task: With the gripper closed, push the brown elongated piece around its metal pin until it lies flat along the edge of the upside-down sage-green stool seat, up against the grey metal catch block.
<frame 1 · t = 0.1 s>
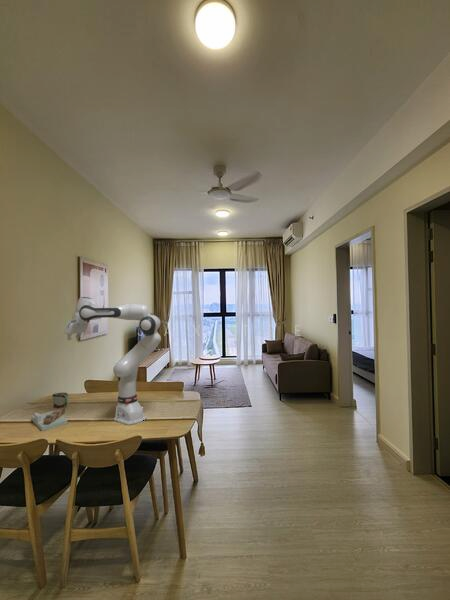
hand: (73, 339, 194), 52 cm above the table, tool tilted 20°, fingers open, 8 cm apart
food container: (62, 407, 210), on the table
brown elongated piece: (54, 414, 183), point 5 cm above the table, hinge at -45.0°
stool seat: (49, 422, 184), on the table
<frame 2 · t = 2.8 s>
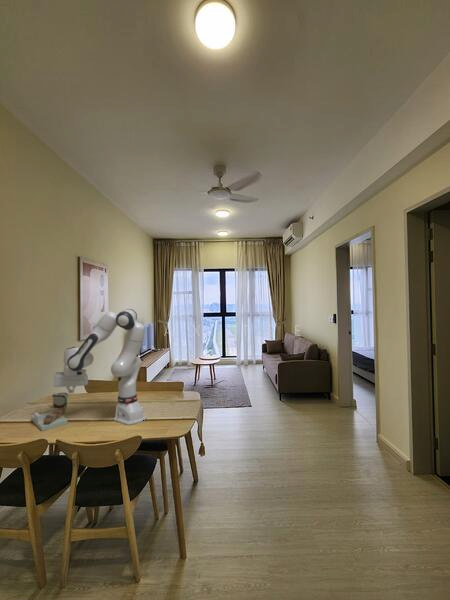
hand: (71, 392, 189), 17 cm above the table, tool pointing down, fingers closed
nothing on the table moved.
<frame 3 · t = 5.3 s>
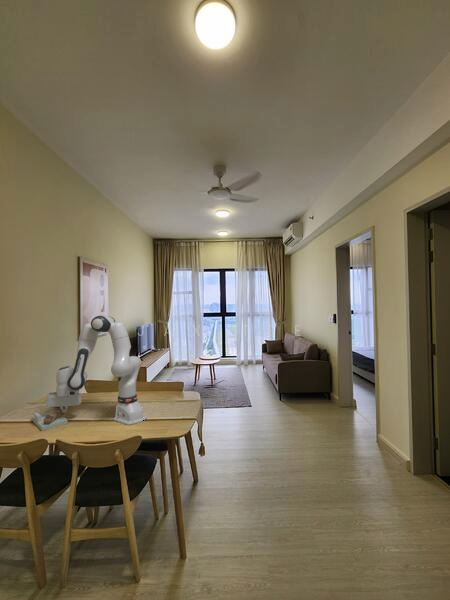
hand: (64, 412, 188), 4 cm above the table, tool pointing down, fingers closed
brown elongated piece: (54, 414, 183), point 5 cm above the table, hinge at -44.5°, touching gripper
everything else where it was.
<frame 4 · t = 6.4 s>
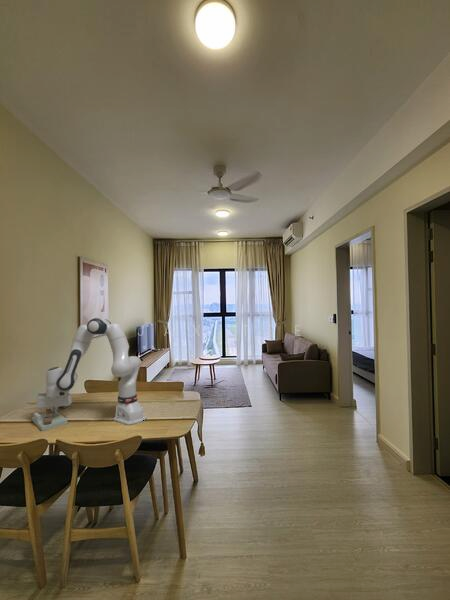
hand: (54, 413, 187), 4 cm above the table, tool pointing down, fingers closed
brown elongated piece: (48, 415, 182), point 5 cm above the table, hinge at -16.9°, touching gripper
everything else where it was.
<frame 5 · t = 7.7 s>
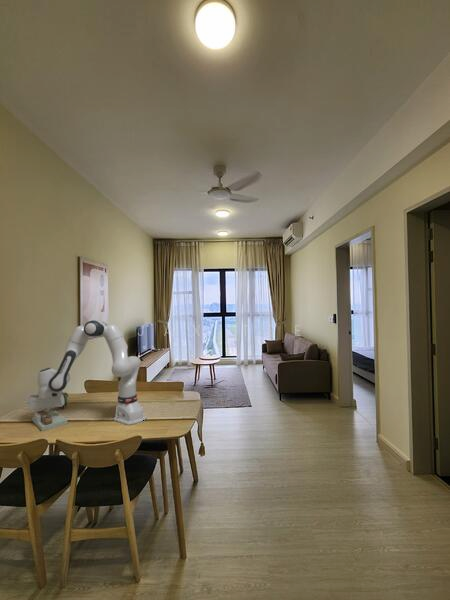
hand: (47, 414, 186), 4 cm above the table, tool pointing down, fingers closed, pressing on brown elongated piece
brown elongated piece: (44, 416, 180), point 5 cm above the table, hinge at 0.9°, touching gripper
everything else where it was.
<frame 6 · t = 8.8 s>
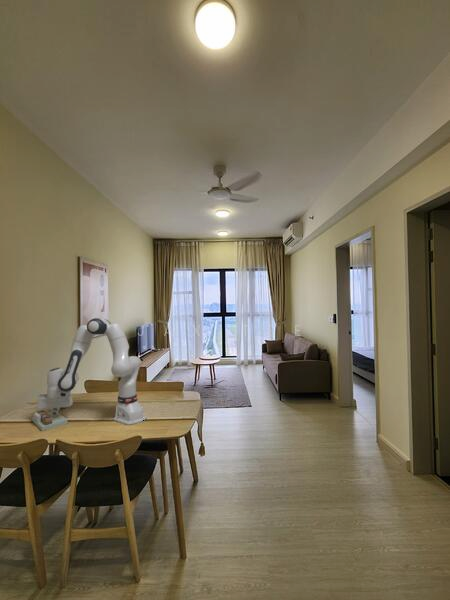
hand: (55, 414, 187), 4 cm above the table, tool pointing down, fingers closed
brown elongated piece: (44, 416, 180), point 5 cm above the table, hinge at 1.1°
everything else where it was.
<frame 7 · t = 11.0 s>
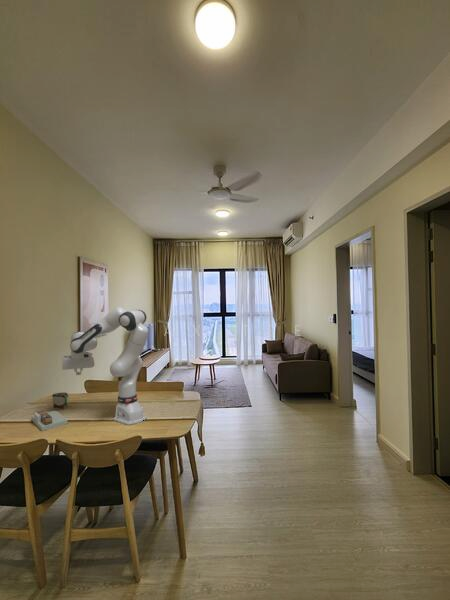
hand: (78, 374, 200), 26 cm above the table, tool pointing down, fingers closed
nothing on the table moved.
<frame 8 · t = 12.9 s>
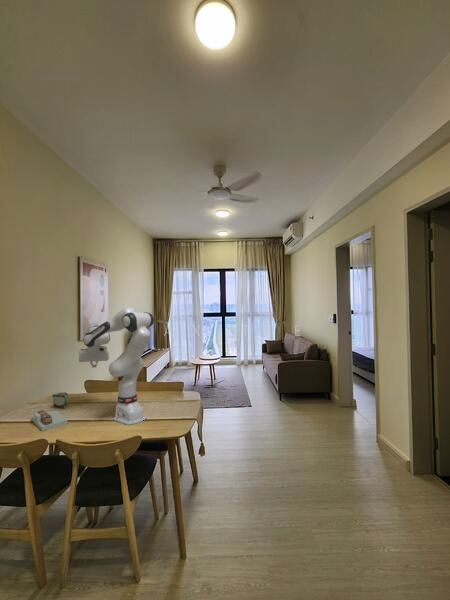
hand: (94, 367, 210), 29 cm above the table, tool pointing down, fingers closed
nothing on the table moved.
at the end: brown elongated piece at +1° (first picture: -45°); food container moved 0.2 cm from its start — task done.
